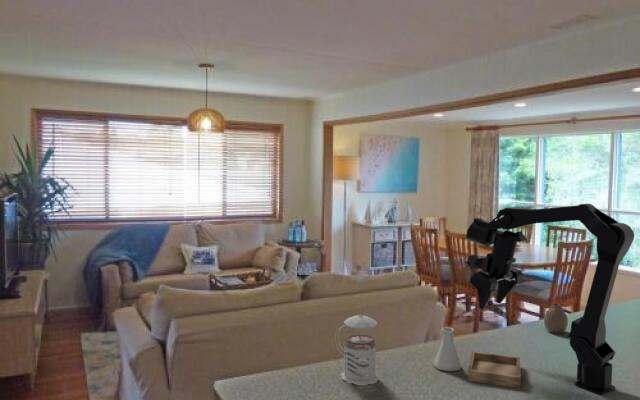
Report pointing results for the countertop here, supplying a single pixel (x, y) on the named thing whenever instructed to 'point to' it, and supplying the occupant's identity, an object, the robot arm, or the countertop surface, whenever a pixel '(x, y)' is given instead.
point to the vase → (555, 319)
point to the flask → (447, 353)
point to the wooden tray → (495, 369)
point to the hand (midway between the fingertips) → (489, 305)
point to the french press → (361, 369)
